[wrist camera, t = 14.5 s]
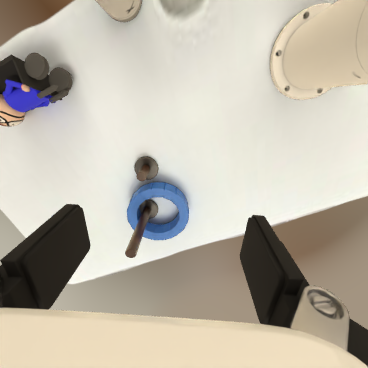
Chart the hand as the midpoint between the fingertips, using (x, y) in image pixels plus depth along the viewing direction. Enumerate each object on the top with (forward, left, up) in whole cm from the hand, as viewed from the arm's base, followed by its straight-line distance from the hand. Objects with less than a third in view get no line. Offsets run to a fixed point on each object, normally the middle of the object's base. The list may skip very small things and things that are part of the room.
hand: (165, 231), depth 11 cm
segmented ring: (+4, +16, -28) cm, 32 cm away
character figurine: (+26, -6, -28) cm, 39 cm away
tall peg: (+7, +17, -28) cm, 33 cm away
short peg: (+7, +7, -28) cm, 30 cm away
